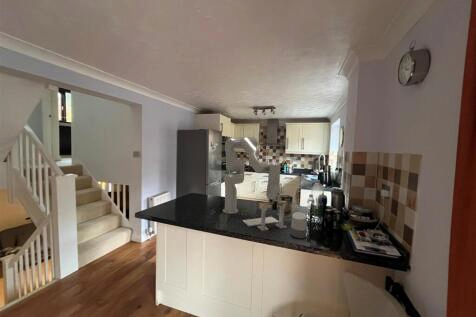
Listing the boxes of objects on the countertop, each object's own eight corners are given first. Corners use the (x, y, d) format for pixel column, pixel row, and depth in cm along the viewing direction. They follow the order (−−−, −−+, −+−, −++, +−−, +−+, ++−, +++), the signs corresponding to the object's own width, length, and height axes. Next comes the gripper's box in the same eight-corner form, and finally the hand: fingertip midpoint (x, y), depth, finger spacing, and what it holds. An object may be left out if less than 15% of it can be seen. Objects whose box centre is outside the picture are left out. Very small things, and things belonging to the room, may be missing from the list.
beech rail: (258, 207, 135) (258, 203, 135) (284, 205, 142) (284, 200, 142) (260, 208, 132) (260, 204, 132) (286, 206, 140) (287, 201, 139)
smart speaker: (288, 237, 124) (289, 214, 123) (293, 232, 132) (294, 210, 131) (304, 241, 119) (305, 217, 118) (308, 235, 127) (309, 213, 126)
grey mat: (242, 221, 148) (242, 220, 148) (271, 217, 157) (271, 216, 157) (248, 226, 139) (248, 225, 139) (279, 222, 148) (279, 221, 148)
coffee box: (281, 218, 156) (282, 197, 155) (277, 215, 163) (278, 195, 162) (292, 217, 159) (292, 196, 158) (287, 214, 165) (288, 194, 164)
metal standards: (257, 227, 137) (258, 203, 136) (281, 224, 144) (282, 201, 143) (261, 231, 132) (262, 206, 131) (286, 227, 139) (287, 203, 138)
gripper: (262, 179, 142) (261, 206, 143) (275, 184, 127) (274, 213, 128) (272, 179, 145) (271, 205, 146) (286, 183, 130) (284, 212, 131)
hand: (272, 208), depth 137 cm, fingers open, 3 cm apart
